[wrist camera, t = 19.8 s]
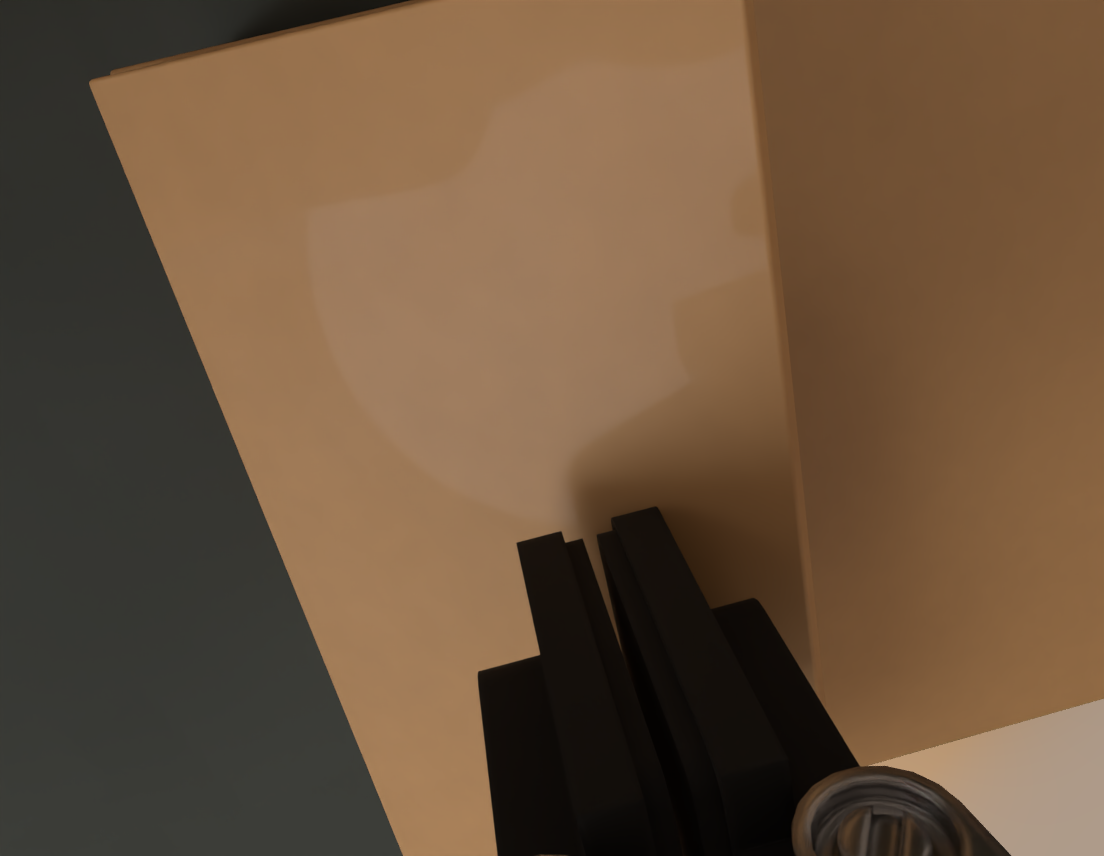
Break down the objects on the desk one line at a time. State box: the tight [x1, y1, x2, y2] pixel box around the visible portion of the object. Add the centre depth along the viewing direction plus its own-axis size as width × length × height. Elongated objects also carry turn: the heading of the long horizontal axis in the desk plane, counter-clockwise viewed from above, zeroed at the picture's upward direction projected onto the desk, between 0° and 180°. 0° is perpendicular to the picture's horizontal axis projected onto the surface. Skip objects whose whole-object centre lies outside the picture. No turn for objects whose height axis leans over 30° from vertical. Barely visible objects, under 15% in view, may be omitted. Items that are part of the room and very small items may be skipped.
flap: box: [89, 0, 826, 856], centre depth 12 cm, size 7×14×1 cm
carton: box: [111, 0, 1104, 766], centre depth 17 cm, size 15×14×9 cm
